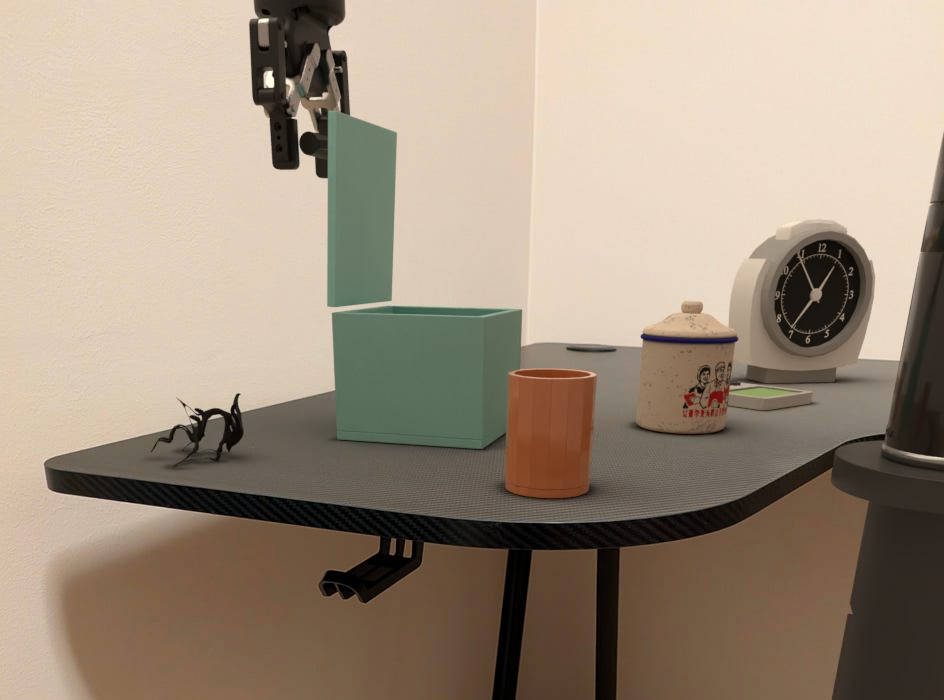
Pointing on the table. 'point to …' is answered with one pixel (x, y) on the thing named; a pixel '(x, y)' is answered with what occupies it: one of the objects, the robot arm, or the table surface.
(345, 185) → the lid
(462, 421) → the box
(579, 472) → the cup
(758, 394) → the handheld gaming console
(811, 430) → the table surface
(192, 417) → the creature
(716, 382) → the teacup with lid
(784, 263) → the alarm clock
